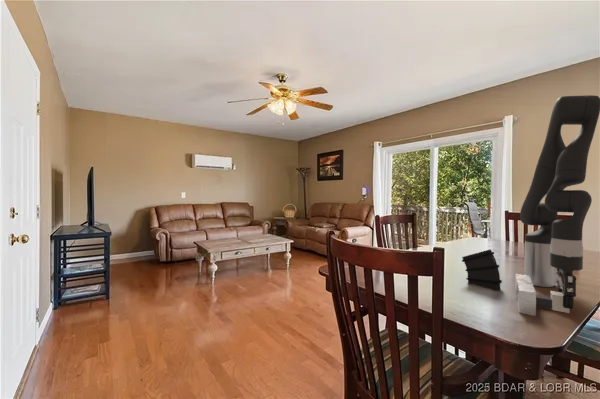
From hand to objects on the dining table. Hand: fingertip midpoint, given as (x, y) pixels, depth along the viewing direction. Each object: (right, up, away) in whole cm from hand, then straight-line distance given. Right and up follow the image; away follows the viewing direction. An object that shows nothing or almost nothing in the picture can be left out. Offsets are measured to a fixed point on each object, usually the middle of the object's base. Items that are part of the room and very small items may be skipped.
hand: (565, 303), depth 88 cm
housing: (-8, -2, +6) cm, 10 cm away
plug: (-4, -2, +3) cm, 5 cm away
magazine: (-12, -2, +24) cm, 26 cm away
